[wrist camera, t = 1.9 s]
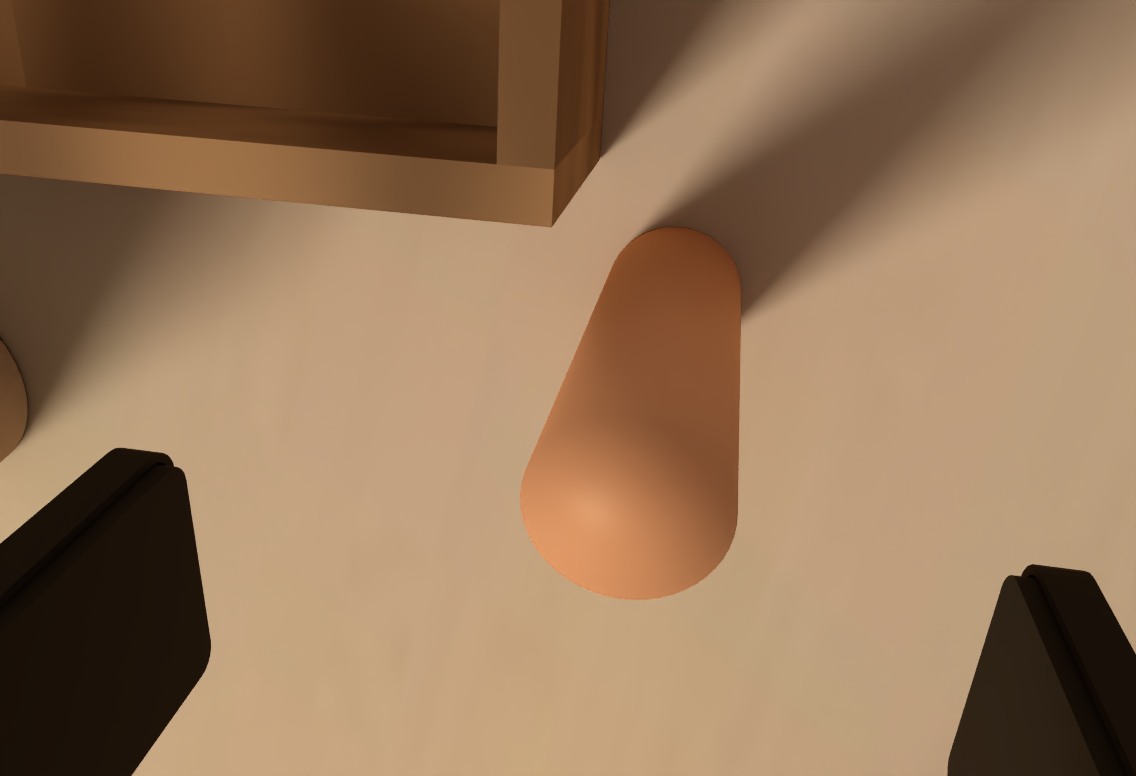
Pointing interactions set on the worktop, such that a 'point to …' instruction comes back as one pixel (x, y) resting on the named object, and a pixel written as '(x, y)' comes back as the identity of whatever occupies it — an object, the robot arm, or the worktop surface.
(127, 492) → the robot arm
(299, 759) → the worktop surface
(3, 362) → the coffee cup
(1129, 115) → the worktop surface
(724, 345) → the peg
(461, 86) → the bore box
